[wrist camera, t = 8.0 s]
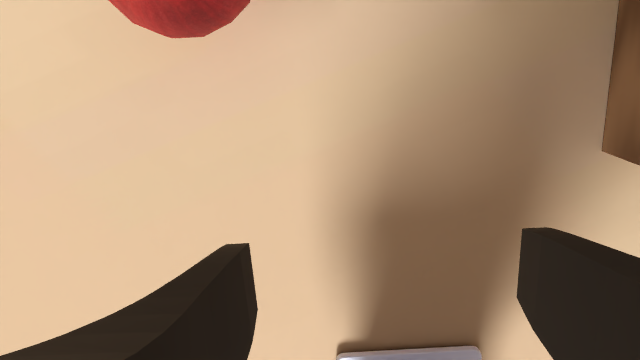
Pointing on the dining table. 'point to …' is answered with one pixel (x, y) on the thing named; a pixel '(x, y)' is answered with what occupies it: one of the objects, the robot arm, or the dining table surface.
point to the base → (625, 87)
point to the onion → (181, 15)
